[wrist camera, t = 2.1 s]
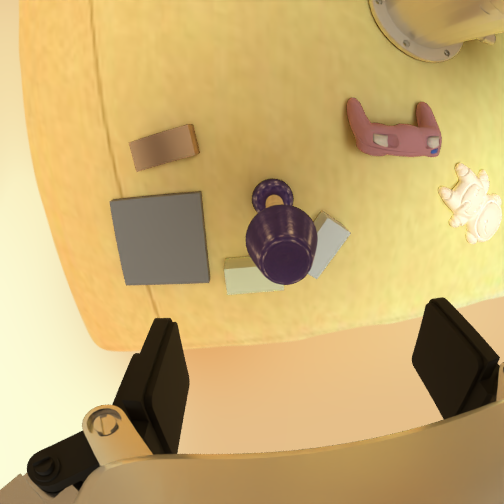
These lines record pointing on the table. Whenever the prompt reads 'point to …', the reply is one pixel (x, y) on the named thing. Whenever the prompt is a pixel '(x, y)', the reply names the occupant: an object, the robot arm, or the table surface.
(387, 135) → the video game controller
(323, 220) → the brick
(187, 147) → the brick
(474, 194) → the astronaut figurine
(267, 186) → the toy lamp
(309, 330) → the table surface
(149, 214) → the pad
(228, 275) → the brick
